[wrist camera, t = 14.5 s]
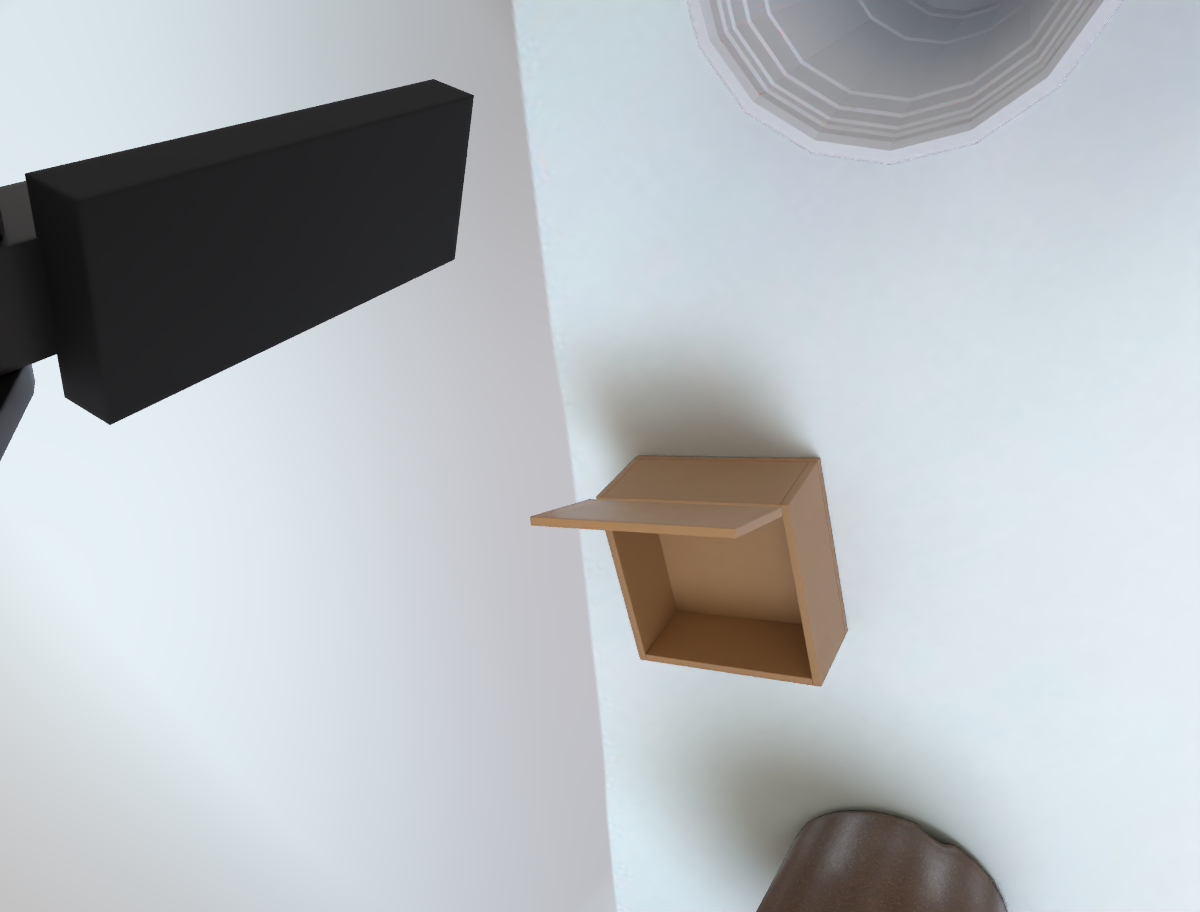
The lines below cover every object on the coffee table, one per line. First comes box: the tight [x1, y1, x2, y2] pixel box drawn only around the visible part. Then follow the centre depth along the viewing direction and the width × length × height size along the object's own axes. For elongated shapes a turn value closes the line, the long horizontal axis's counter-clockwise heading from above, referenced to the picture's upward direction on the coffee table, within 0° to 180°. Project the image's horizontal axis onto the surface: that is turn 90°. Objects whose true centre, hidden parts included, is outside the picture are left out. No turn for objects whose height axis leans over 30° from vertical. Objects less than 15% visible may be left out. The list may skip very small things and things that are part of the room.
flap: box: [530, 499, 782, 539], centre depth 39 cm, size 5×10×1 cm
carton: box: [596, 456, 848, 686], centre depth 46 cm, size 10×10×4 cm
